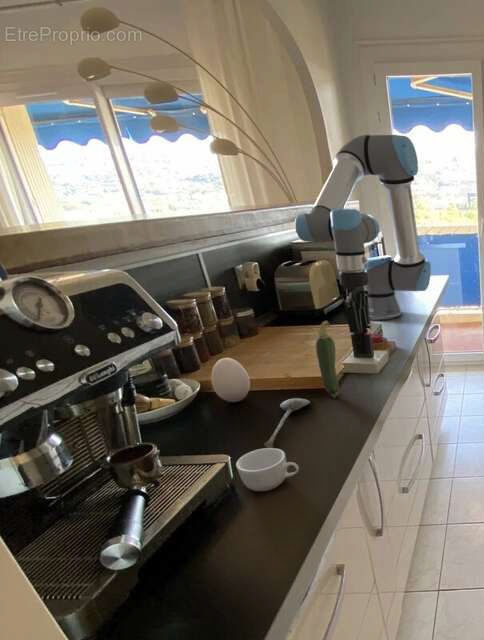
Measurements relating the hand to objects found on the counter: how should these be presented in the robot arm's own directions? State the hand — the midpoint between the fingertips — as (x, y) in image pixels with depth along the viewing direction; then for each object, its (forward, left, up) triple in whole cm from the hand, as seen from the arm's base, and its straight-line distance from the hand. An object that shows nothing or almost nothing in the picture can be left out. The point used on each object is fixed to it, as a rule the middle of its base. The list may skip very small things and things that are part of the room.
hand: (363, 351), depth 132 cm
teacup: (+58, +3, -5) cm, 58 cm away
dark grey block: (0, 0, -1) cm, 1 cm away
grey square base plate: (0, 0, -4) cm, 4 cm away
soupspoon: (+36, -6, -5) cm, 37 cm away
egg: (+26, -24, -5) cm, 36 cm away
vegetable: (+21, -1, -5) cm, 22 cm away
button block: (-12, 0, -4) cm, 13 cm away
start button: (-12, 0, -1) cm, 12 cm away
